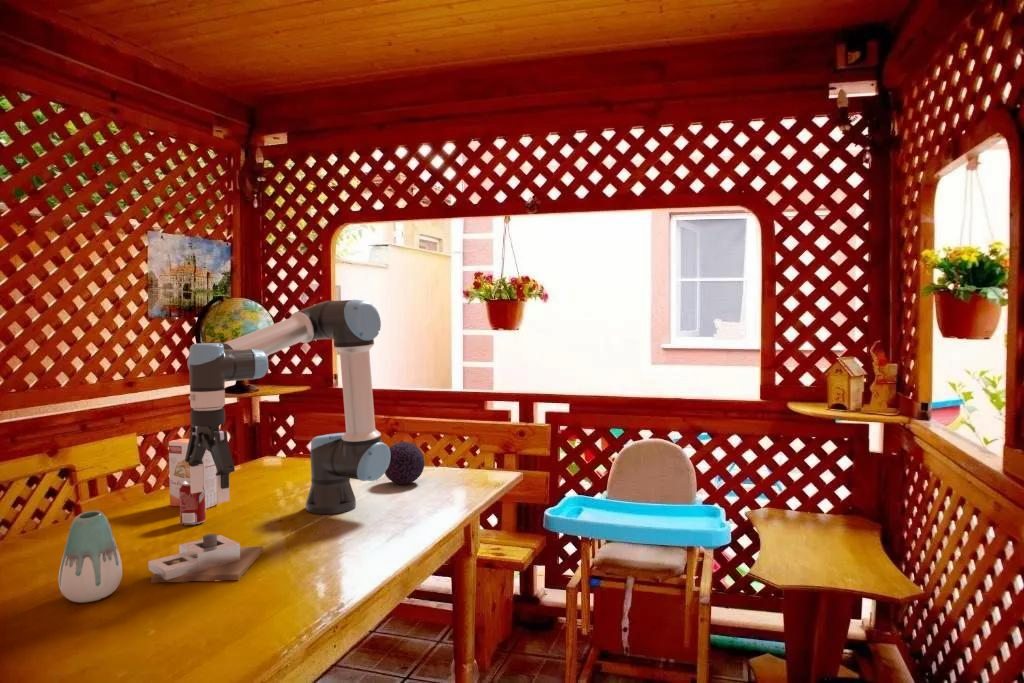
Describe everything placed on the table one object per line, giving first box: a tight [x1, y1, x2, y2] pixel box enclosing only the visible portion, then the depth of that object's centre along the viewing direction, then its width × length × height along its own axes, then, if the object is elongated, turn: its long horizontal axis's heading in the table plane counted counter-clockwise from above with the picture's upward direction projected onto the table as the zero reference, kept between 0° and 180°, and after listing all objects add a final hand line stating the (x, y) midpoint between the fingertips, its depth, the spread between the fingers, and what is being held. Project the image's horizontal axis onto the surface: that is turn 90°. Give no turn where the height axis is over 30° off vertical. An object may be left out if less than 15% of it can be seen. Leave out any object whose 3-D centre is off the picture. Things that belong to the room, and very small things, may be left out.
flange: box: [148, 534, 241, 580], centre depth 162 cm, size 17×10×4 cm, turn 138°
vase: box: [58, 510, 123, 604], centre depth 147 cm, size 12×12×18 cm
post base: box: [150, 533, 264, 584], centre depth 164 cm, size 19×19×8 cm
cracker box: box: [168, 438, 218, 510], centre depth 218 cm, size 14×6×21 cm, turn 70°
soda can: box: [179, 481, 207, 526], centre depth 200 cm, size 7×7×12 cm
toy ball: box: [384, 441, 426, 485], centre depth 247 cm, size 15×15×15 cm
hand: (209, 497), depth 164 cm, fingers open, 13 cm apart
